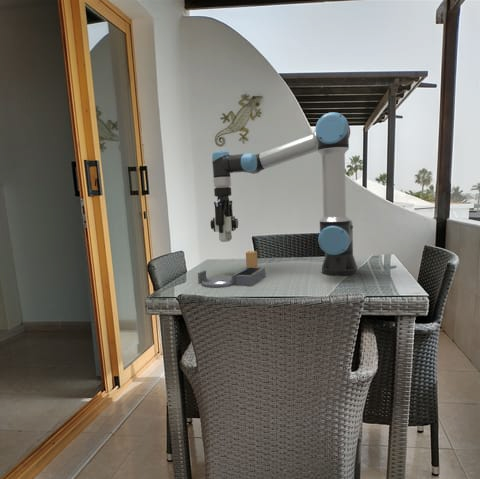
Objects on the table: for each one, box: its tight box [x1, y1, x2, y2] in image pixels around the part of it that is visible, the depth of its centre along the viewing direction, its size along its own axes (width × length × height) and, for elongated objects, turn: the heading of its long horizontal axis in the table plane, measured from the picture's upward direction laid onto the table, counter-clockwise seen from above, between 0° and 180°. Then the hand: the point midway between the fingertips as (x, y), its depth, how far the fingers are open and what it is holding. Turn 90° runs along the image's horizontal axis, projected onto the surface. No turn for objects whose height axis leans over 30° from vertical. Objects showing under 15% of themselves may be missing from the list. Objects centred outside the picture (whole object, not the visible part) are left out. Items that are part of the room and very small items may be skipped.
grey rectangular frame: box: [231, 266, 267, 287], centre depth 149 cm, size 9×17×4 cm, turn 157°
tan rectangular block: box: [245, 250, 259, 268], centre depth 163 cm, size 4×4×10 cm
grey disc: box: [197, 270, 241, 289], centre depth 148 cm, size 18×15×4 cm
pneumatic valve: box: [210, 215, 239, 243], centre depth 159 cm, size 6×12×12 cm, turn 77°
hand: (225, 239), depth 160 cm, fingers closed on pneumatic valve, 5 cm apart
